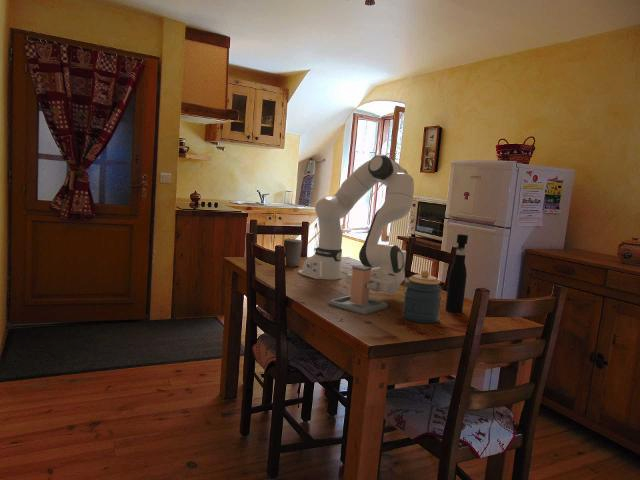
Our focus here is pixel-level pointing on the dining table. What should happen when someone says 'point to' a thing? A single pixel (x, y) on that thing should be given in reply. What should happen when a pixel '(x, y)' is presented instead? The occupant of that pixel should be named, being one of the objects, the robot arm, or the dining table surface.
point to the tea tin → (360, 284)
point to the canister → (422, 298)
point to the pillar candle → (293, 252)
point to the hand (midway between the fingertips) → (359, 284)
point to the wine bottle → (457, 278)
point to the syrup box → (404, 258)
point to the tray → (358, 305)
